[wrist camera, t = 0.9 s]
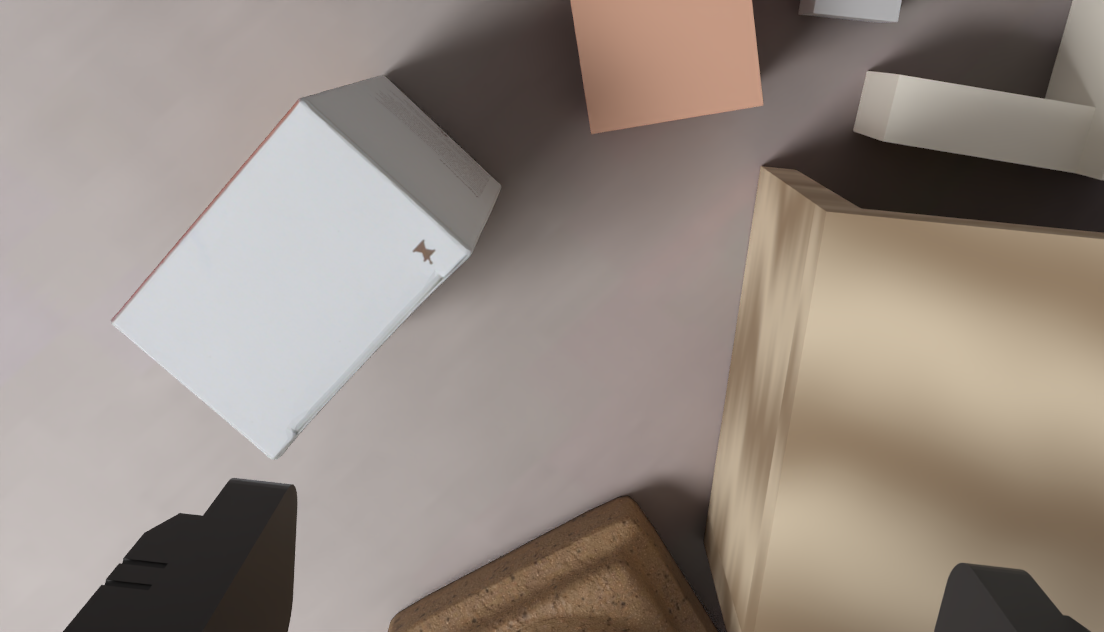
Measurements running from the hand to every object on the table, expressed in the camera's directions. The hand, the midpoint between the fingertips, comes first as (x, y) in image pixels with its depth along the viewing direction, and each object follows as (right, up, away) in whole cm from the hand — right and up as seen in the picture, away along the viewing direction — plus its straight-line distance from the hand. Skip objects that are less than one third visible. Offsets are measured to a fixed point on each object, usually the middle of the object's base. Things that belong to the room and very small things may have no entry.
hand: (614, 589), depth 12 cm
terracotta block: (+3, +13, +21) cm, 25 cm away
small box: (-7, +7, +23) cm, 25 cm away
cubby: (+13, +1, +24) cm, 27 cm away
